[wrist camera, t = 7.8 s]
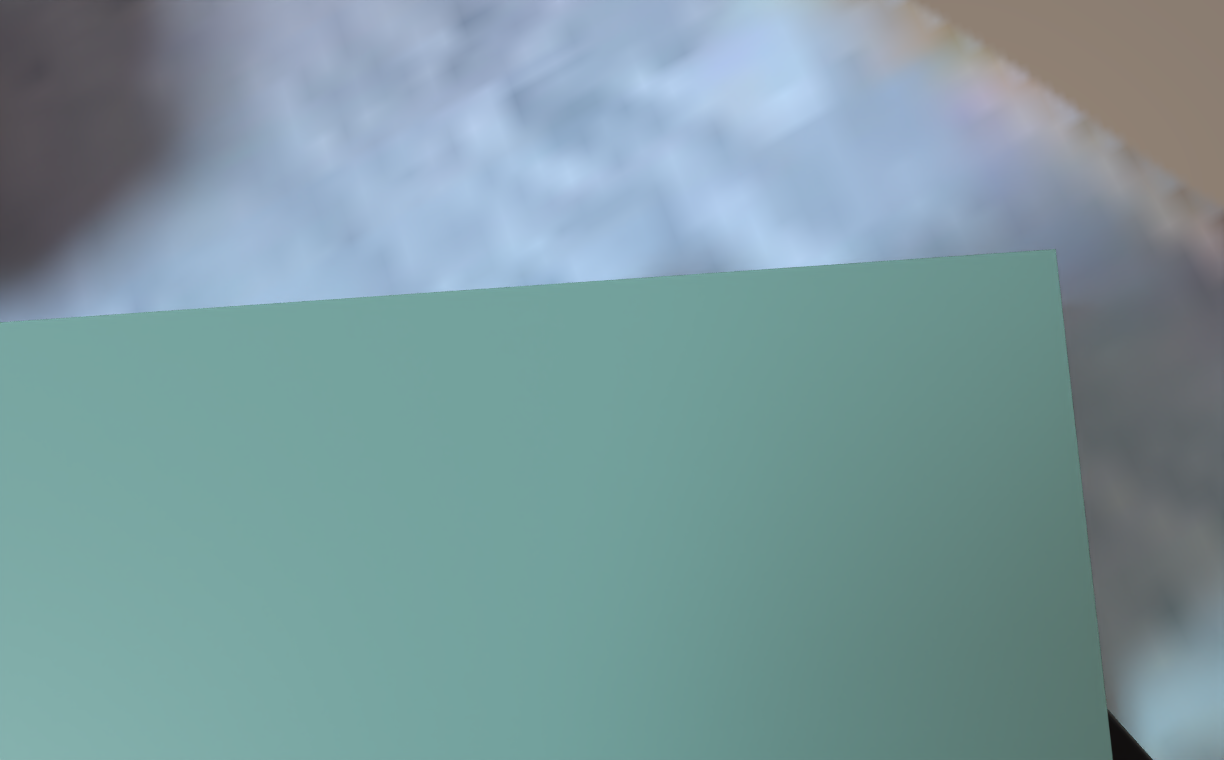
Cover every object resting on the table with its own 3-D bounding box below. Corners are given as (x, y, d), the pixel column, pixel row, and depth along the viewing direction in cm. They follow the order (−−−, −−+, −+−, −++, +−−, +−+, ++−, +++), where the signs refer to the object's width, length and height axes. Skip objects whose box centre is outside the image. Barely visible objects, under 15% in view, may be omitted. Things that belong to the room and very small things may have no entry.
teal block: (868, 484, 16) (1053, 249, 4) (893, 867, 15) (1247, 1951, 3) (527, 492, 17) (-42, 325, 5) (524, 850, 16) (-217, 1602, 4)
